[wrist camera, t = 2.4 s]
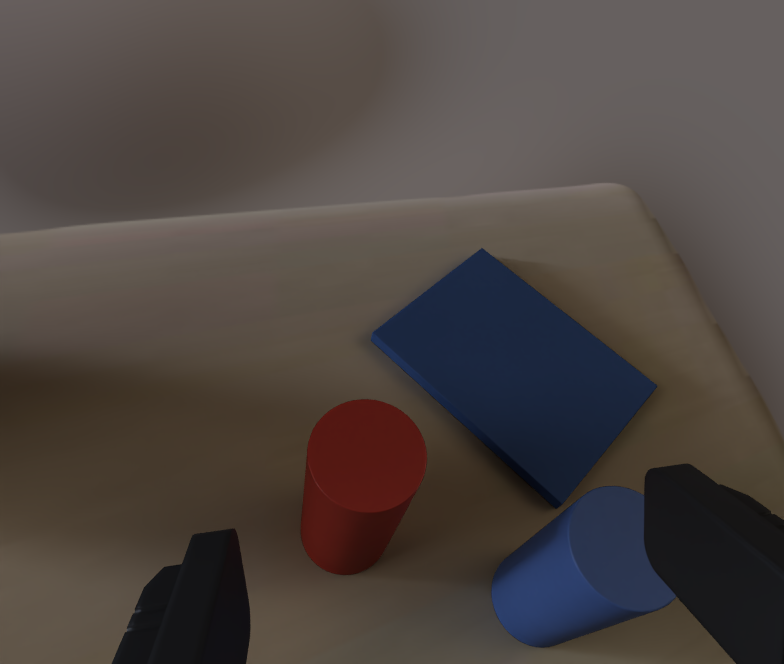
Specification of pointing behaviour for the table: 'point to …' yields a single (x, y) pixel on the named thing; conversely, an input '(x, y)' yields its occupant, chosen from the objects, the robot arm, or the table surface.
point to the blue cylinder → (580, 572)
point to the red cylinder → (358, 483)
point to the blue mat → (516, 373)
